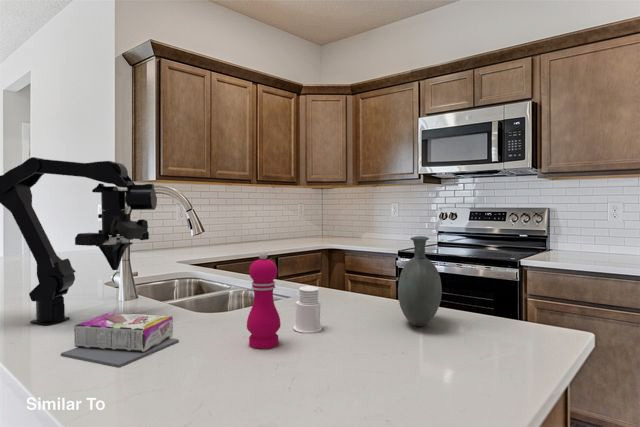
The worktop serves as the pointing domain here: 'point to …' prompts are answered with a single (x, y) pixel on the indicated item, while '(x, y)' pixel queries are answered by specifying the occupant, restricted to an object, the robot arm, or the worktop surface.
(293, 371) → the worktop surface
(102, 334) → the candy bar box
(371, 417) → the worktop surface
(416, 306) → the flask
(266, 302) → the pepper mill
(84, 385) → the worktop surface
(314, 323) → the downlight
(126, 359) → the mat
